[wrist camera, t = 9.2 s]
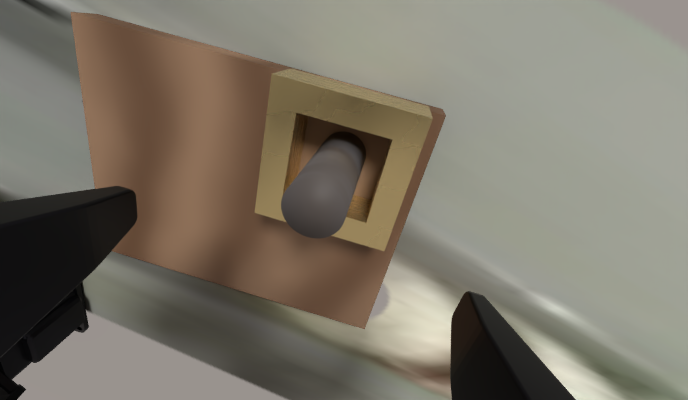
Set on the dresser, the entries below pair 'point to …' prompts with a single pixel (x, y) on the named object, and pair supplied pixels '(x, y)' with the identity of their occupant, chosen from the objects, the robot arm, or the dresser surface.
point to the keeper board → (229, 170)
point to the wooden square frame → (351, 111)
